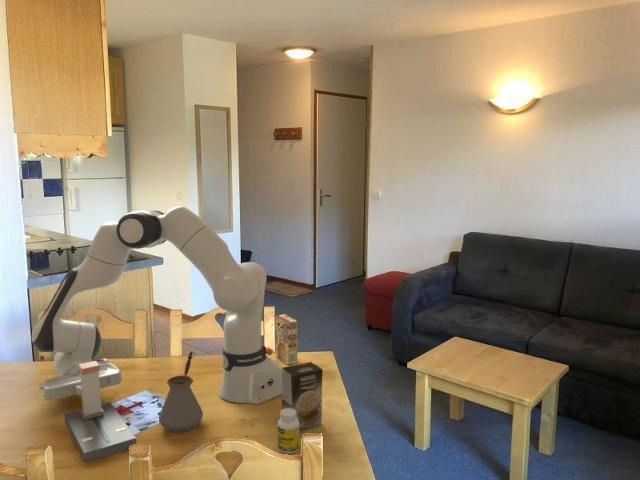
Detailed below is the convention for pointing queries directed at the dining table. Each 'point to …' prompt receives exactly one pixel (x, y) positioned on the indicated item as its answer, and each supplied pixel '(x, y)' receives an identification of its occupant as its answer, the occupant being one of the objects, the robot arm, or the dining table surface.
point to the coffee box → (303, 393)
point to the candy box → (286, 338)
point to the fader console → (99, 433)
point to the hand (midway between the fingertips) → (89, 392)
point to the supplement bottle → (288, 431)
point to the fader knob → (90, 390)
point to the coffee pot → (181, 404)
